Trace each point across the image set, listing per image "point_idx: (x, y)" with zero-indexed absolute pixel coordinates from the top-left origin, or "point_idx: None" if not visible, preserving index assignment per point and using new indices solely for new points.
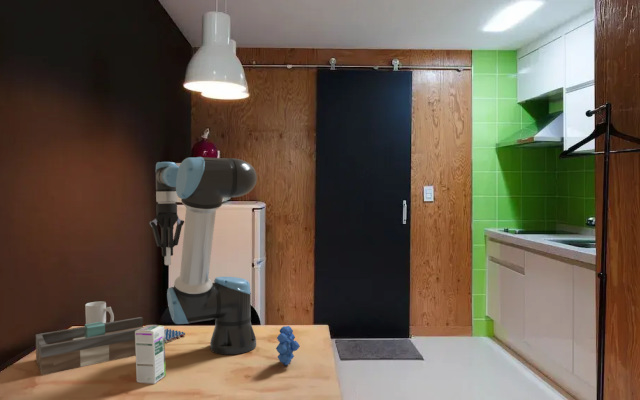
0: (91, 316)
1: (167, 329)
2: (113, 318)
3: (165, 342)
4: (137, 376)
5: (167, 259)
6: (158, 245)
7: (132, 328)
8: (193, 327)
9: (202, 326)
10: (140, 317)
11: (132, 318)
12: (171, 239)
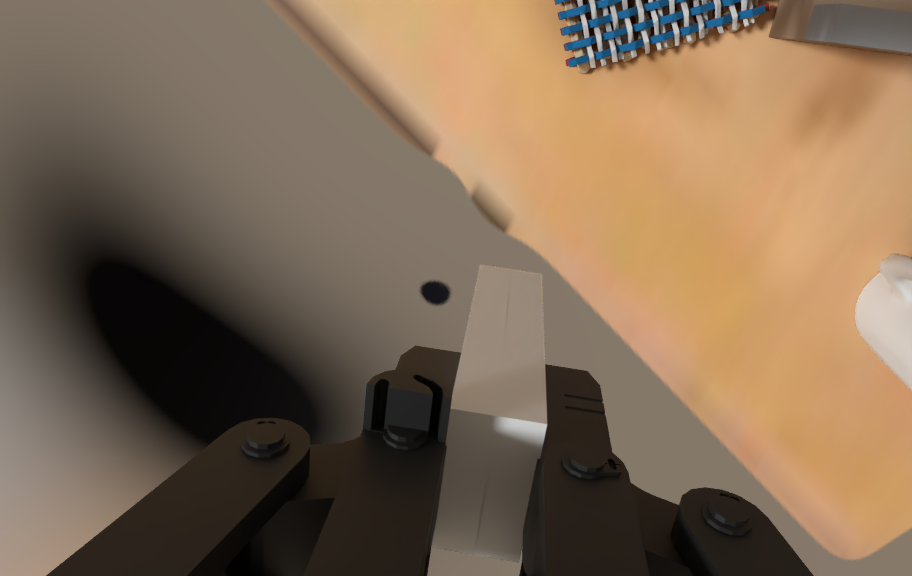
0: None
1: (586, 39)
2: (910, 262)
3: None
4: None
5: (531, 307)
6: (766, 526)
7: (898, 6)
8: (392, 38)
9: (336, 13)
10: (845, 31)
11: (905, 50)
12: (373, 563)
